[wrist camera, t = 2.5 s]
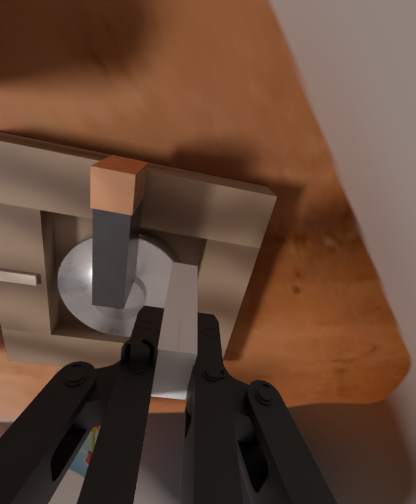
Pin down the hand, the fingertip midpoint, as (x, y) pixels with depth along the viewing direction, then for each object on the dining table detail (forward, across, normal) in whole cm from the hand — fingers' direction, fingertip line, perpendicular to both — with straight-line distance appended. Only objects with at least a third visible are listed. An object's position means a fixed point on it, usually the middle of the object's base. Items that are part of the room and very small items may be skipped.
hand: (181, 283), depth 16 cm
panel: (+9, -5, -6) cm, 12 cm away
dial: (+8, -5, -3) cm, 10 cm away
